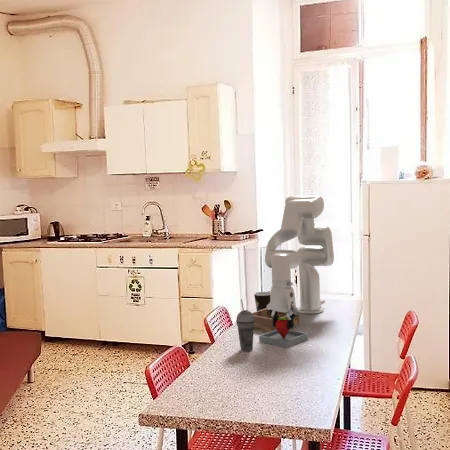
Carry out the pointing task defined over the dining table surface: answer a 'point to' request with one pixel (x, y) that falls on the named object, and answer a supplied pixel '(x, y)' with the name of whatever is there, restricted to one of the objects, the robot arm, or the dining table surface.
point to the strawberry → (282, 326)
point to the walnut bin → (269, 320)
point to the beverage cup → (245, 329)
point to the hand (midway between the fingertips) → (283, 327)
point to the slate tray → (286, 342)
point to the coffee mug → (262, 300)
